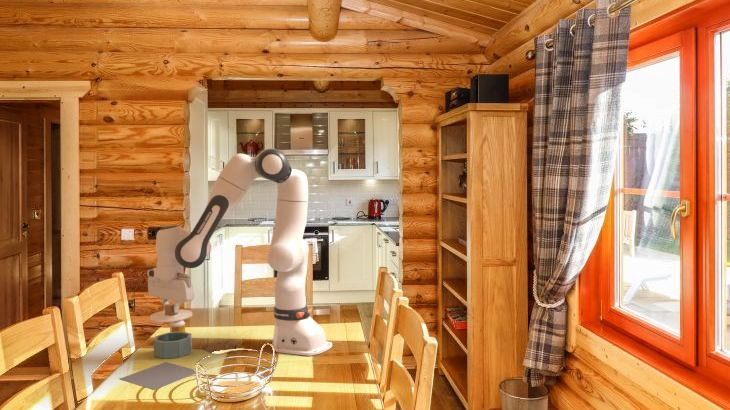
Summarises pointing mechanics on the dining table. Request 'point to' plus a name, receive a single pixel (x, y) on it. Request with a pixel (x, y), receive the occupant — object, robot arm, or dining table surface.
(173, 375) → the mat
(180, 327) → the supplement bottle
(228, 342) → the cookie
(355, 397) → the dining table surface
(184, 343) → the grey octagonal ring
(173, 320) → the lid
